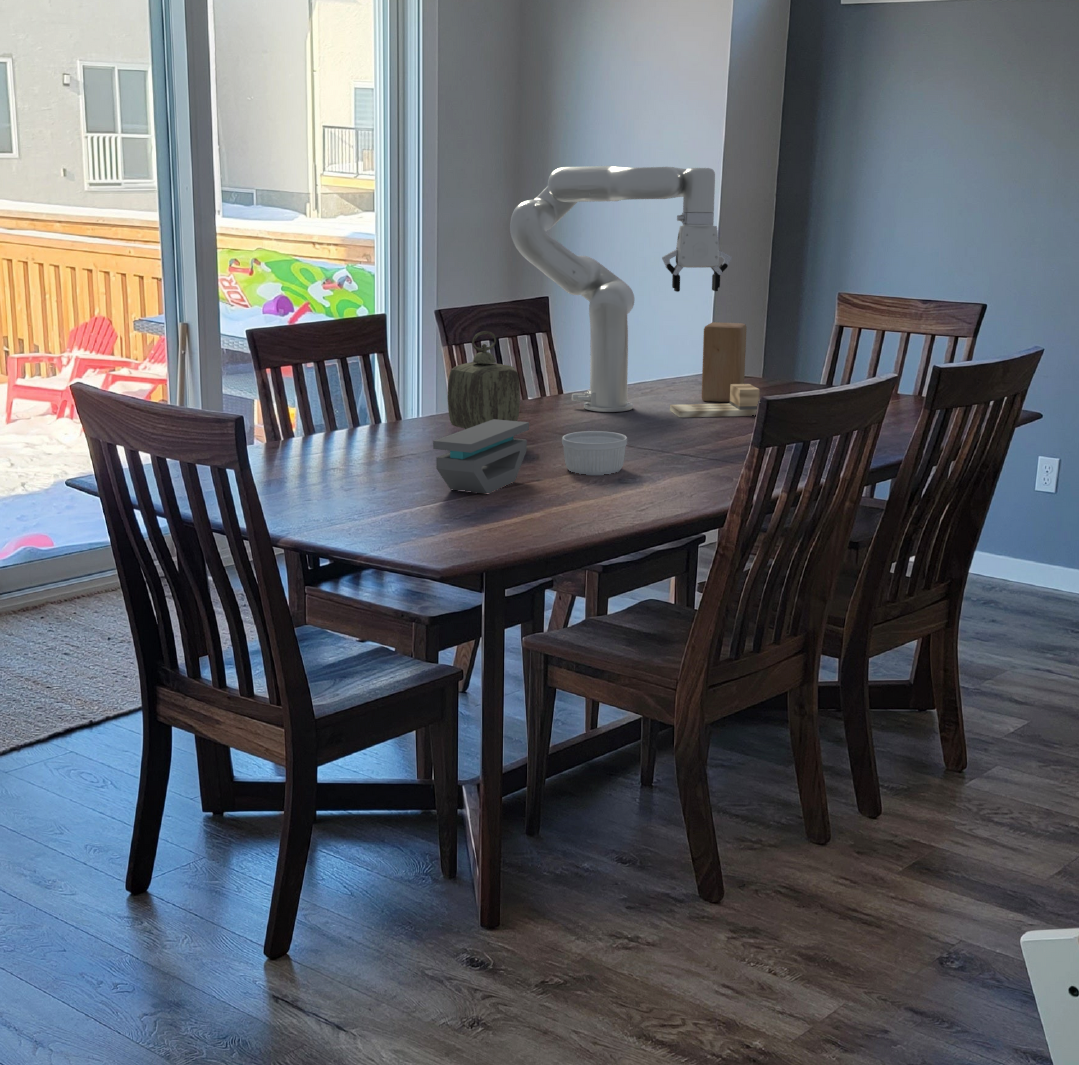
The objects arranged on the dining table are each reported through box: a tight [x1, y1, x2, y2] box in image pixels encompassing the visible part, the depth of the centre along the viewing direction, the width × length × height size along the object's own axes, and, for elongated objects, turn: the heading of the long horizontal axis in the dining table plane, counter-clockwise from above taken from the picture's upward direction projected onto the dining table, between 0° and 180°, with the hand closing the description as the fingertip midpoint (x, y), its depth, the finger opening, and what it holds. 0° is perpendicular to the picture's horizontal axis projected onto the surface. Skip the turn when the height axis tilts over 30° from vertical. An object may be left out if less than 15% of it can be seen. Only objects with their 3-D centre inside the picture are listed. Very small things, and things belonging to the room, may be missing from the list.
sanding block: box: [730, 383, 760, 410], centre depth 344 cm, size 9×5×5 cm, turn 8°
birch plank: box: [669, 402, 757, 418], centre depth 344 cm, size 24×10×2 cm, turn 98°
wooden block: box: [701, 321, 748, 403], centre depth 361 cm, size 10×10×20 cm
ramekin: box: [561, 430, 628, 476], centre depth 278 cm, size 13×13×7 cm
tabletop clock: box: [447, 330, 521, 430], centre depth 301 cm, size 14×9×25 cm, turn 134°
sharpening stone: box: [432, 419, 530, 494], centre depth 262 cm, size 25×8×11 cm, turn 155°
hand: (695, 291), depth 337 cm, fingers open, 9 cm apart
